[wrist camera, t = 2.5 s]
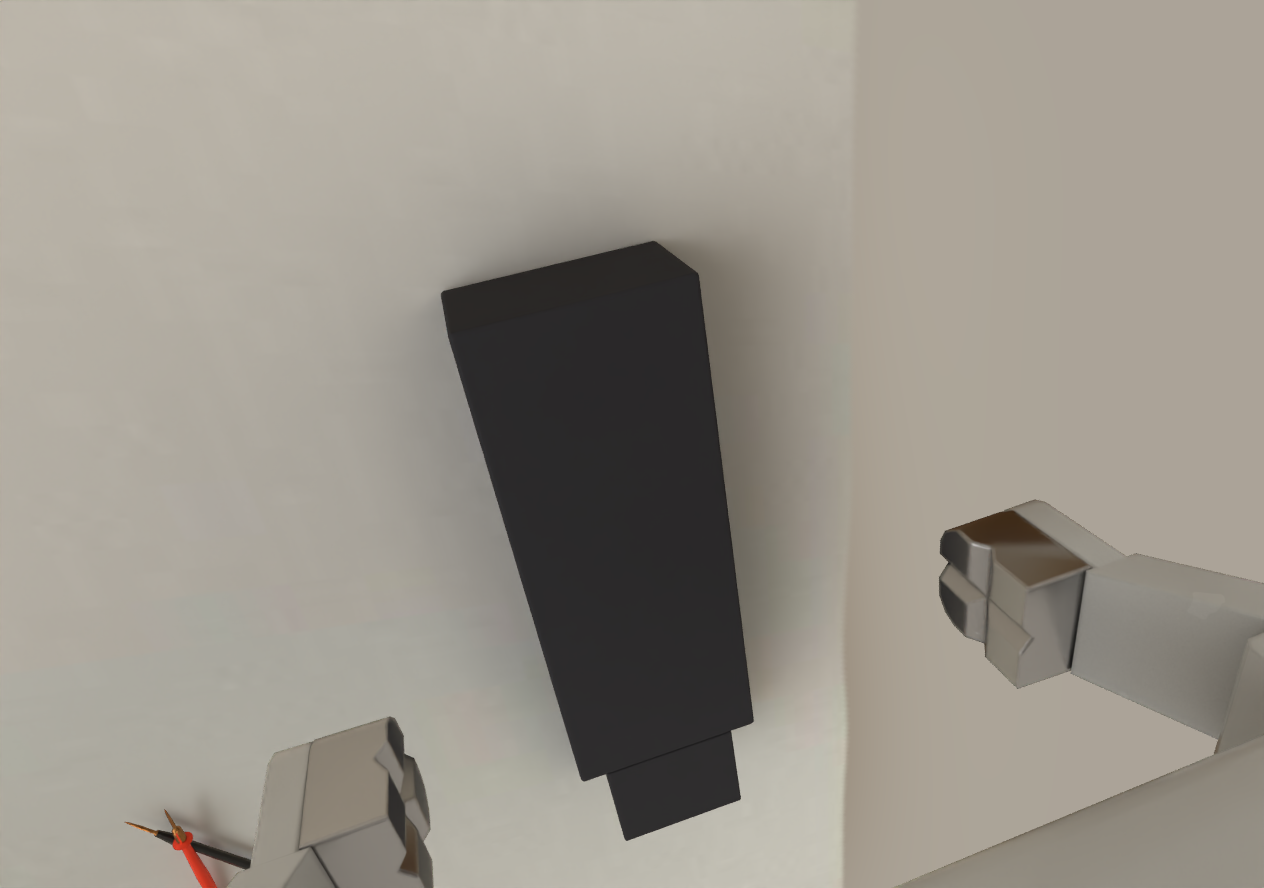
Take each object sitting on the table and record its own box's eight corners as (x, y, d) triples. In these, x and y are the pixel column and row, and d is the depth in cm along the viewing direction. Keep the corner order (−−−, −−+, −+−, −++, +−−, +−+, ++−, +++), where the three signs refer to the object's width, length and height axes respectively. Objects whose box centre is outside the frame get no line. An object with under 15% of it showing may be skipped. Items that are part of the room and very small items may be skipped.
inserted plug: (439, 290, 17) (447, 334, 14) (655, 239, 18) (699, 272, 15) (580, 767, 25) (602, 850, 22) (726, 717, 25) (763, 792, 23)
